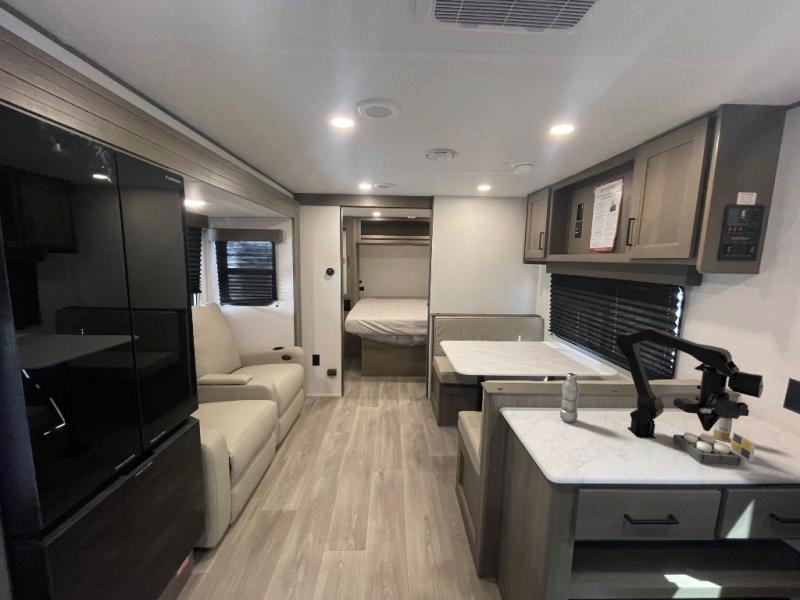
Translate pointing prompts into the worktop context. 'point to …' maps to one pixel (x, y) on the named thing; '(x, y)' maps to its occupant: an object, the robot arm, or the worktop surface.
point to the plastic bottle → (570, 398)
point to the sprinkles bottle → (723, 429)
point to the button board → (706, 457)
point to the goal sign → (742, 446)
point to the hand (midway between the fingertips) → (706, 430)
